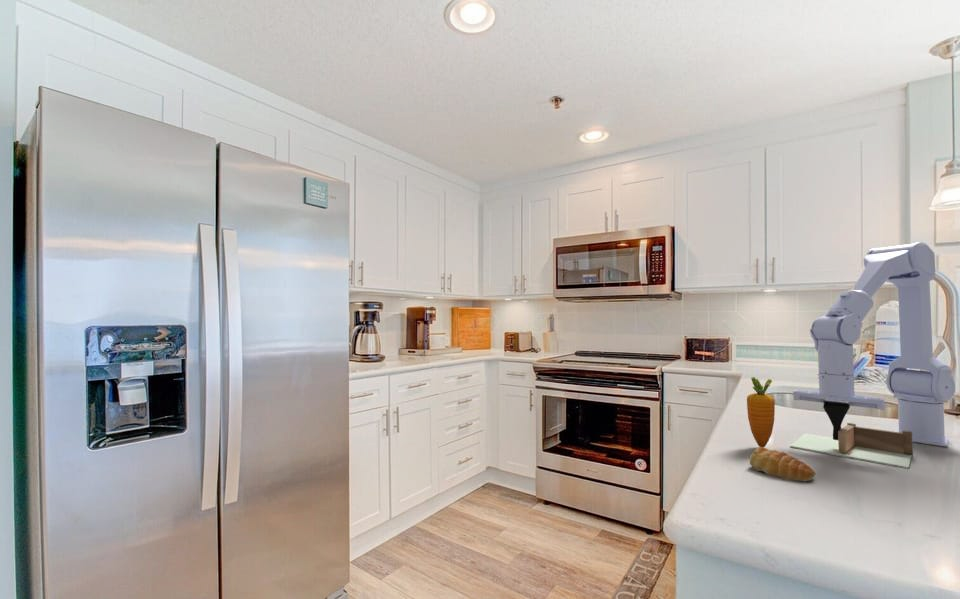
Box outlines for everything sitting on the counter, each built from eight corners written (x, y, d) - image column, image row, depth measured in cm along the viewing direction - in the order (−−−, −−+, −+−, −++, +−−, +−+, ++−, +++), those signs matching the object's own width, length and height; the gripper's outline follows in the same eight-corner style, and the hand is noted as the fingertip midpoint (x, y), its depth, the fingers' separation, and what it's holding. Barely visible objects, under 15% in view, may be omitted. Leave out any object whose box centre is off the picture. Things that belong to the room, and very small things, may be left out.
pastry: (823, 479, 75) (822, 457, 75) (803, 487, 72) (802, 464, 72) (765, 463, 83) (765, 443, 84) (745, 470, 80) (744, 449, 80)
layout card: (804, 434, 102) (804, 432, 102) (912, 451, 89) (912, 449, 89) (790, 447, 93) (790, 445, 93) (908, 468, 79) (908, 466, 79)
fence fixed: (848, 443, 94) (847, 422, 94) (912, 454, 87) (912, 431, 87) (847, 445, 93) (846, 423, 93) (912, 455, 86) (911, 432, 86)
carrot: (775, 446, 93) (773, 376, 93) (776, 453, 89) (774, 379, 89) (748, 443, 96) (746, 374, 96) (747, 449, 91) (745, 377, 92)
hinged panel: (838, 451, 87) (837, 431, 88) (847, 443, 93) (846, 424, 93) (845, 453, 87) (845, 432, 87) (854, 445, 92) (854, 425, 92)
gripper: (790, 372, 93) (791, 436, 93) (882, 379, 83) (884, 451, 82) (796, 369, 98) (797, 430, 98) (883, 375, 88) (885, 443, 88)
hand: (837, 439), depth 90 cm, fingers closed, pressing on hinged panel
